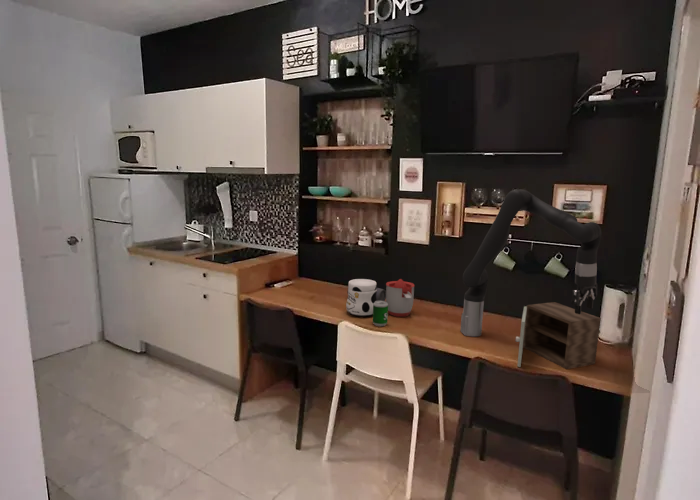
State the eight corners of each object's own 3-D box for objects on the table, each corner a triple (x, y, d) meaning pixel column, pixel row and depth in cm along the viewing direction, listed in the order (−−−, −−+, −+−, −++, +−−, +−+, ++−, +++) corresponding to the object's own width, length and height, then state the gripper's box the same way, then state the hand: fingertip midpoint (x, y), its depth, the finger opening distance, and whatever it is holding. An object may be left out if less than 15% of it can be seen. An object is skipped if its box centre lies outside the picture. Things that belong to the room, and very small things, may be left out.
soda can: (381, 328, 221) (381, 305, 219) (369, 324, 226) (370, 301, 224) (390, 324, 226) (391, 302, 224) (378, 321, 231) (379, 299, 229)
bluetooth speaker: (346, 300, 269) (346, 284, 267) (355, 296, 276) (355, 281, 275) (378, 307, 256) (379, 290, 254) (386, 303, 264) (387, 287, 262)
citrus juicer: (395, 320, 233) (396, 284, 229) (379, 311, 248) (381, 276, 245) (420, 317, 239) (422, 281, 235) (403, 308, 254) (405, 274, 251)
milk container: (340, 314, 240) (340, 282, 237) (356, 307, 255) (357, 276, 252) (367, 320, 231) (368, 287, 228) (382, 312, 246) (384, 281, 243)
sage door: (513, 365, 179) (517, 321, 176) (516, 345, 200) (520, 305, 197) (520, 367, 178) (524, 322, 175) (523, 346, 199) (527, 306, 196)
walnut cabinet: (566, 369, 178) (571, 321, 175) (523, 347, 200) (527, 305, 197) (594, 363, 184) (600, 318, 181) (550, 343, 206) (554, 302, 203)
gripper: (586, 266, 182) (584, 303, 186) (566, 275, 174) (564, 312, 178) (605, 270, 175) (602, 308, 179) (584, 279, 168) (582, 318, 172)
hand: (583, 310), depth 179 cm, fingers open, 8 cm apart
